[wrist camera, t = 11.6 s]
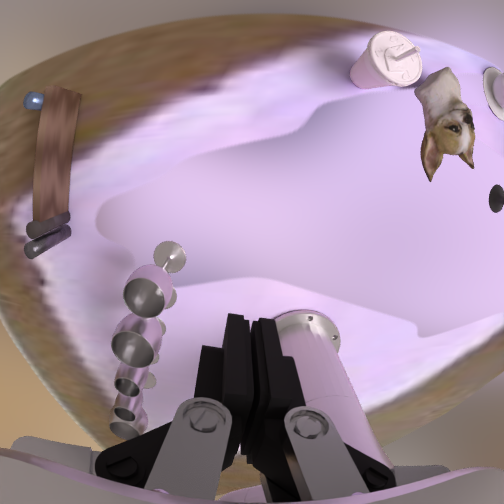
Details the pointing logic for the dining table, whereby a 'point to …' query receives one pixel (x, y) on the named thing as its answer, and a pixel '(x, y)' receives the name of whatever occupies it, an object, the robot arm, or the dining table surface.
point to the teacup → (494, 90)
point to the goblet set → (142, 337)
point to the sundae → (496, 198)
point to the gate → (53, 160)
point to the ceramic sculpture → (444, 121)
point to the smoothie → (387, 62)
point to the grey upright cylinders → (58, 234)
